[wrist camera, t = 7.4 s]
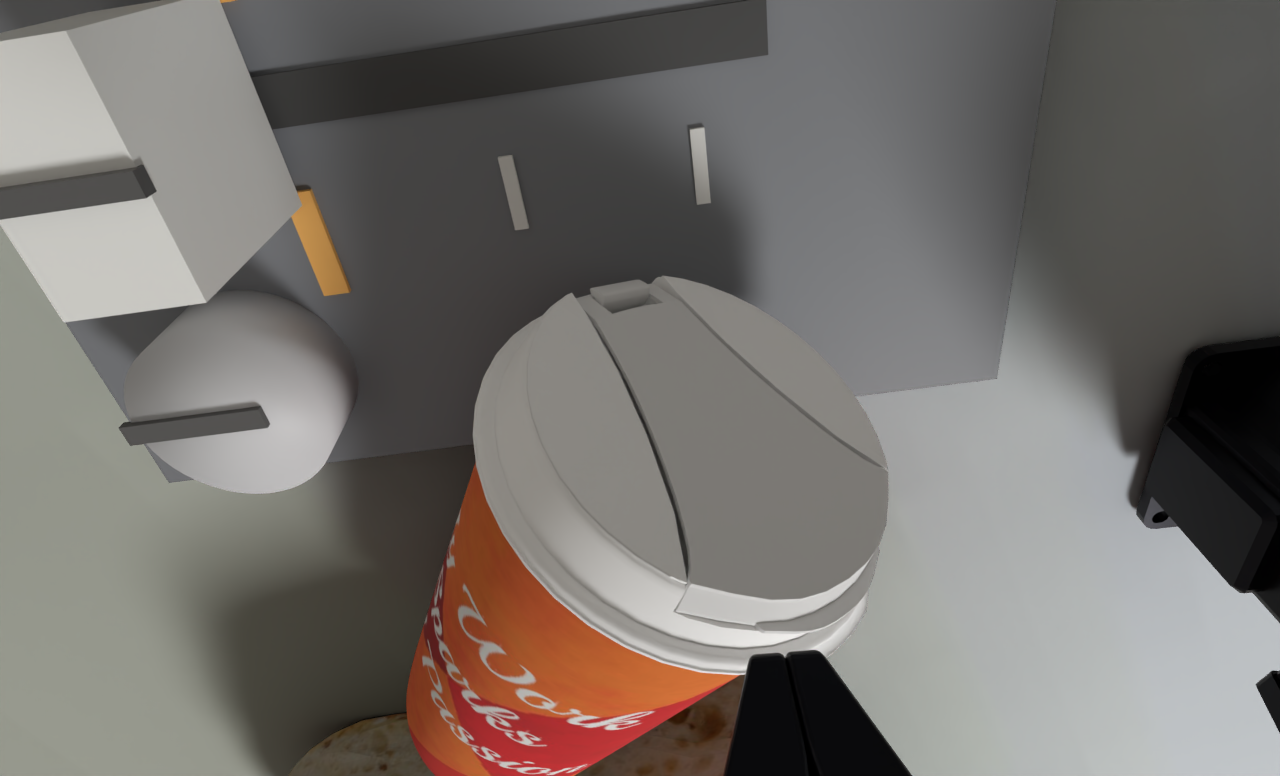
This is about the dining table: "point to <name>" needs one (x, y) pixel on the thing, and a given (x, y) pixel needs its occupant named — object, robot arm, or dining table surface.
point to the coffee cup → (640, 527)
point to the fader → (135, 157)
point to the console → (583, 204)
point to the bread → (638, 772)
